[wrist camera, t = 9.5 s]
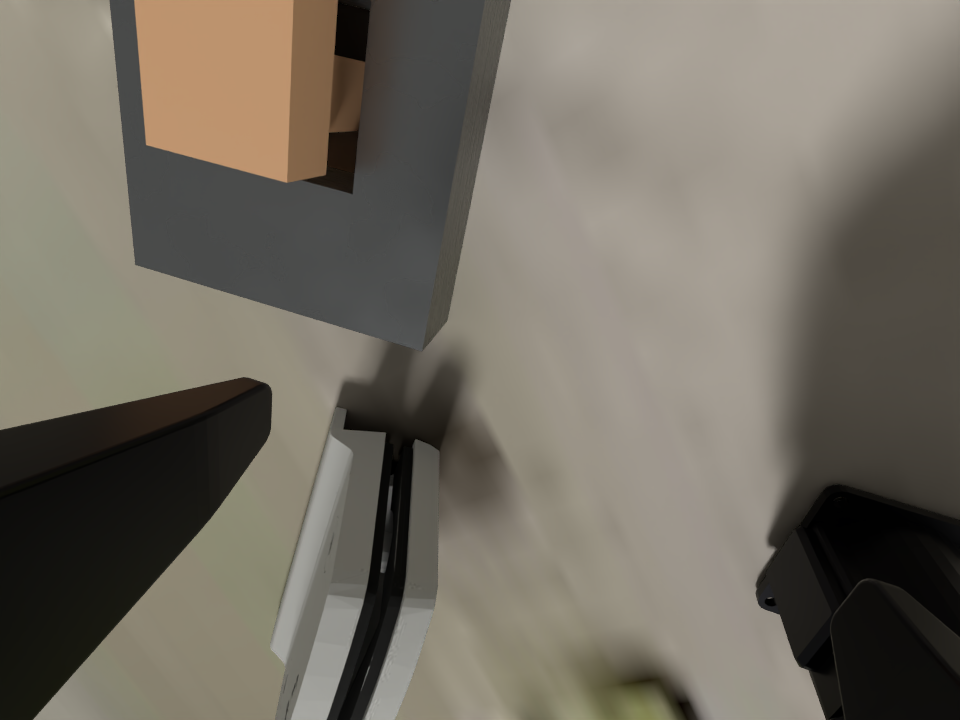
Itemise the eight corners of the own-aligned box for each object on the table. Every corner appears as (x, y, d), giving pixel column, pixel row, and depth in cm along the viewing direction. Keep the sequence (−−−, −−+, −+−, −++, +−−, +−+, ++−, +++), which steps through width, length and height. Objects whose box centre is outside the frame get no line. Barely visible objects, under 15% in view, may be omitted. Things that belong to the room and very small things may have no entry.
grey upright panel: (337, 399, 23) (290, 610, 15) (440, 422, 24) (451, 629, 16) (275, 620, 31) (221, 841, 22) (355, 629, 32) (332, 842, 24)
